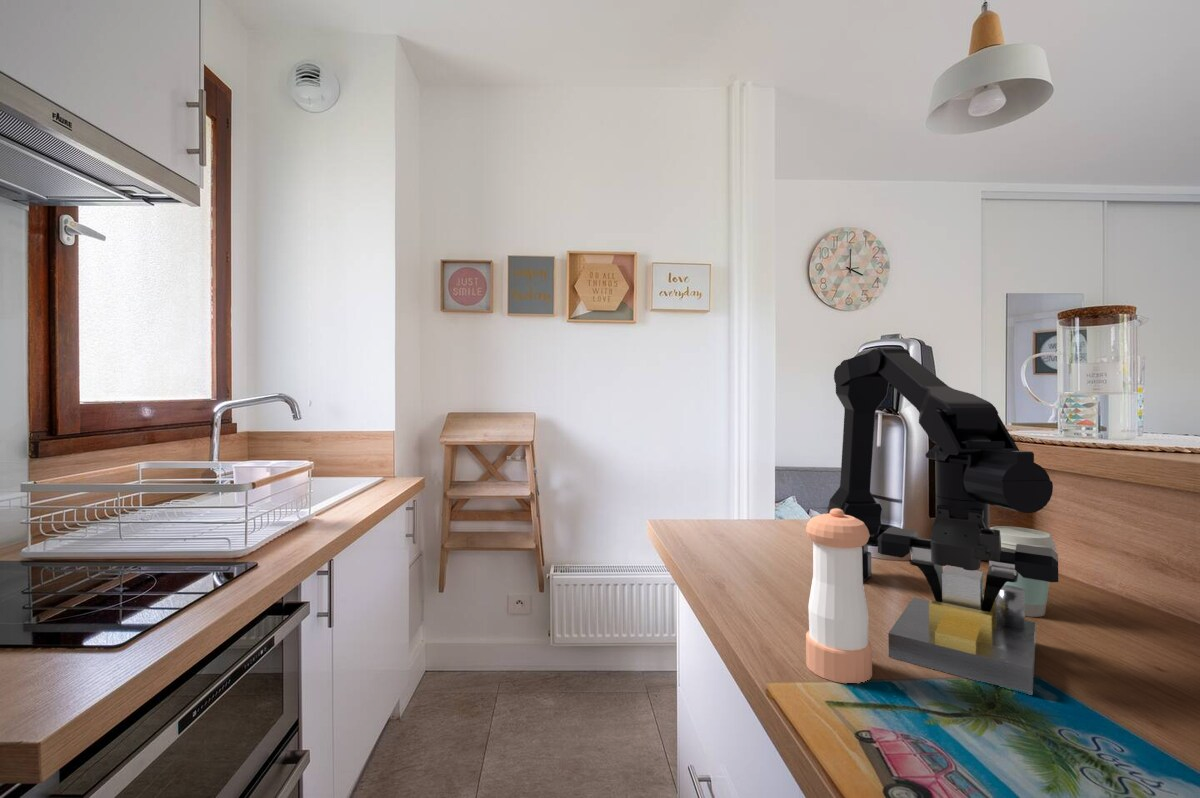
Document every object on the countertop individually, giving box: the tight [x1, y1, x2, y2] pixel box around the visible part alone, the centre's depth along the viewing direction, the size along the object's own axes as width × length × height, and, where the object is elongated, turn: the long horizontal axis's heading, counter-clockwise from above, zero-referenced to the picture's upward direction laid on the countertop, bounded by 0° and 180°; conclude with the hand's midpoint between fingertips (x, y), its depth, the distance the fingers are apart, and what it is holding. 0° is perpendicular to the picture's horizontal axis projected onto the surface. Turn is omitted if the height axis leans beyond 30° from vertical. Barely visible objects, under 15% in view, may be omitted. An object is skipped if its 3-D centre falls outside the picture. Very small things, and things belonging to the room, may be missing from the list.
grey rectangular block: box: [942, 565, 984, 611], centre depth 68 cm, size 4×4×8 cm
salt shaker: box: [805, 508, 873, 684], centre depth 64 cm, size 7×7×19 cm
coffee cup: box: [990, 525, 1057, 618], centre depth 82 cm, size 8×9×12 cm
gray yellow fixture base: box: [887, 585, 1036, 696], centre depth 68 cm, size 14×16×8 cm
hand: (963, 618), depth 68 cm, fingers closed on grey rectangular block, 4 cm apart
